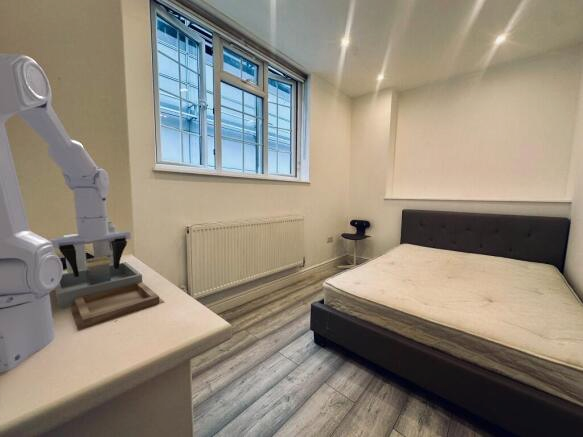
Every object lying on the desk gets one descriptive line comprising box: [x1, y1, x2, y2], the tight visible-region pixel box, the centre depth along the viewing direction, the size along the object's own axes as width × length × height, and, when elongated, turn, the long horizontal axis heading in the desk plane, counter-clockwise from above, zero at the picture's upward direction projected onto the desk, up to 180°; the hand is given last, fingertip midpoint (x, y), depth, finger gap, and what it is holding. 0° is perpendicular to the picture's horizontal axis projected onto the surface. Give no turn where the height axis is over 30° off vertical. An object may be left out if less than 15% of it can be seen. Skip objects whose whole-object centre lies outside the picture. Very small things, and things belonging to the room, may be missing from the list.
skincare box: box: [62, 233, 87, 273], centre depth 67 cm, size 6×4×12 cm
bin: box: [54, 261, 143, 309], centre depth 58 cm, size 15×15×4 cm
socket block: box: [69, 281, 166, 332], centre depth 50 cm, size 14×14×2 cm
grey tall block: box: [84, 256, 111, 286], centre depth 58 cm, size 4×4×7 cm
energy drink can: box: [92, 220, 117, 265], centre depth 74 cm, size 6×6×15 cm
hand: (97, 271), depth 58 cm, fingers open, 7 cm apart
